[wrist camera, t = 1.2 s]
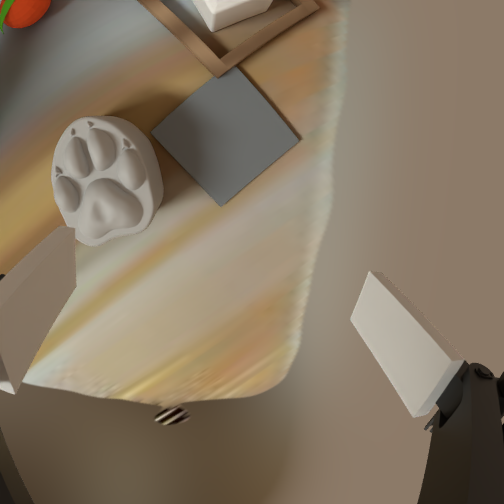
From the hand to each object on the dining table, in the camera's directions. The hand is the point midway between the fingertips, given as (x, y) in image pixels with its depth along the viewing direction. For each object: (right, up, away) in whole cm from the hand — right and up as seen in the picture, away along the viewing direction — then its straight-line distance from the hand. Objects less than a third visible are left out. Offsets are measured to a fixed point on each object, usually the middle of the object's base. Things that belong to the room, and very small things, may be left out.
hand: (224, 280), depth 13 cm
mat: (-2, +14, +21) cm, 26 cm away
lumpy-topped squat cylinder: (-15, +11, +21) cm, 28 cm away
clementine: (-26, +31, +10) cm, 42 cm away
